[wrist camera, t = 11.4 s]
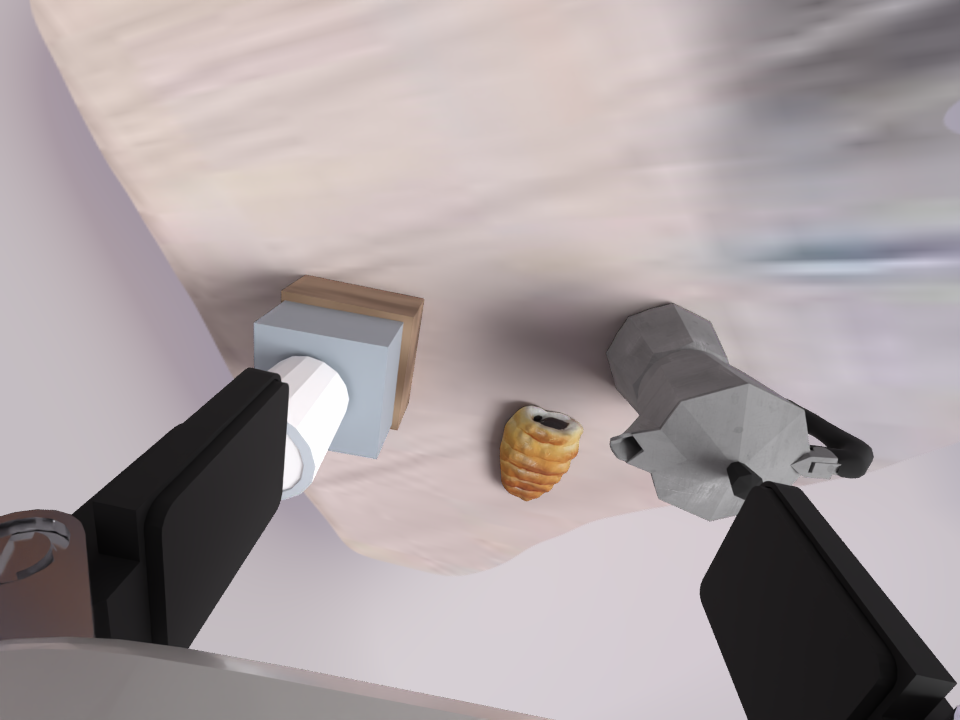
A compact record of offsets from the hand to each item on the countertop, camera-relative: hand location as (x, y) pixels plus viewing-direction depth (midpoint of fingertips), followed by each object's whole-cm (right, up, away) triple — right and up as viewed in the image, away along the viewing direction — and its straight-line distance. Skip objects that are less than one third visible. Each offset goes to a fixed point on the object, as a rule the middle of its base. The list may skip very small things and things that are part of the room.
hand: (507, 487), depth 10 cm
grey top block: (-11, +2, +30) cm, 32 cm away
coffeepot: (+16, +3, +33) cm, 37 cm away
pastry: (+5, -5, +38) cm, 38 cm away
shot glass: (-12, 0, +25) cm, 28 cm away
